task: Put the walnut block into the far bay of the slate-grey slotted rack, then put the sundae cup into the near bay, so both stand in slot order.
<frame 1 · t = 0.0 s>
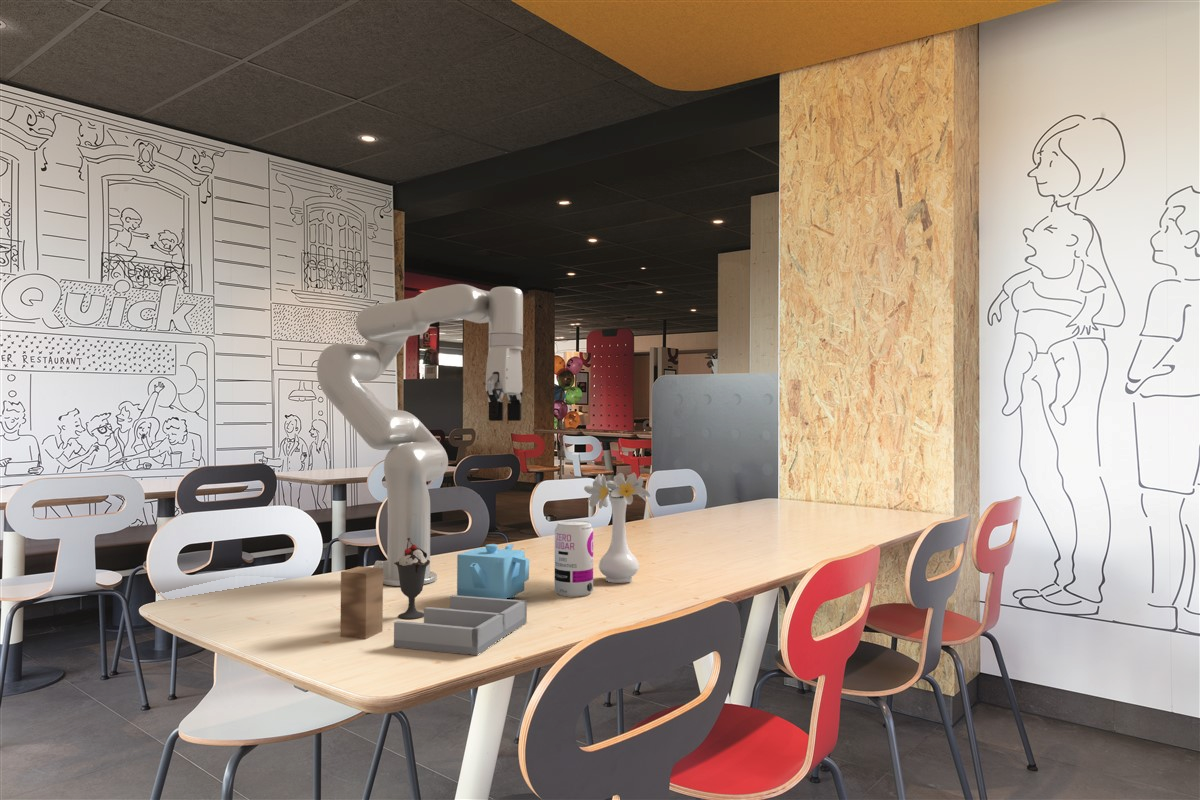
hand: (505, 420, 168), 37 cm above the table, tool pointing down, fingers open, 9 cm apart
rack: (463, 634, 131), on the table
supplement can: (573, 594, 162), on the table
sundae: (411, 617, 143), on the table
flower vase: (615, 581, 175), on the table
walnut block: (361, 633, 131), on the table
teapot: (493, 600, 157), on the table
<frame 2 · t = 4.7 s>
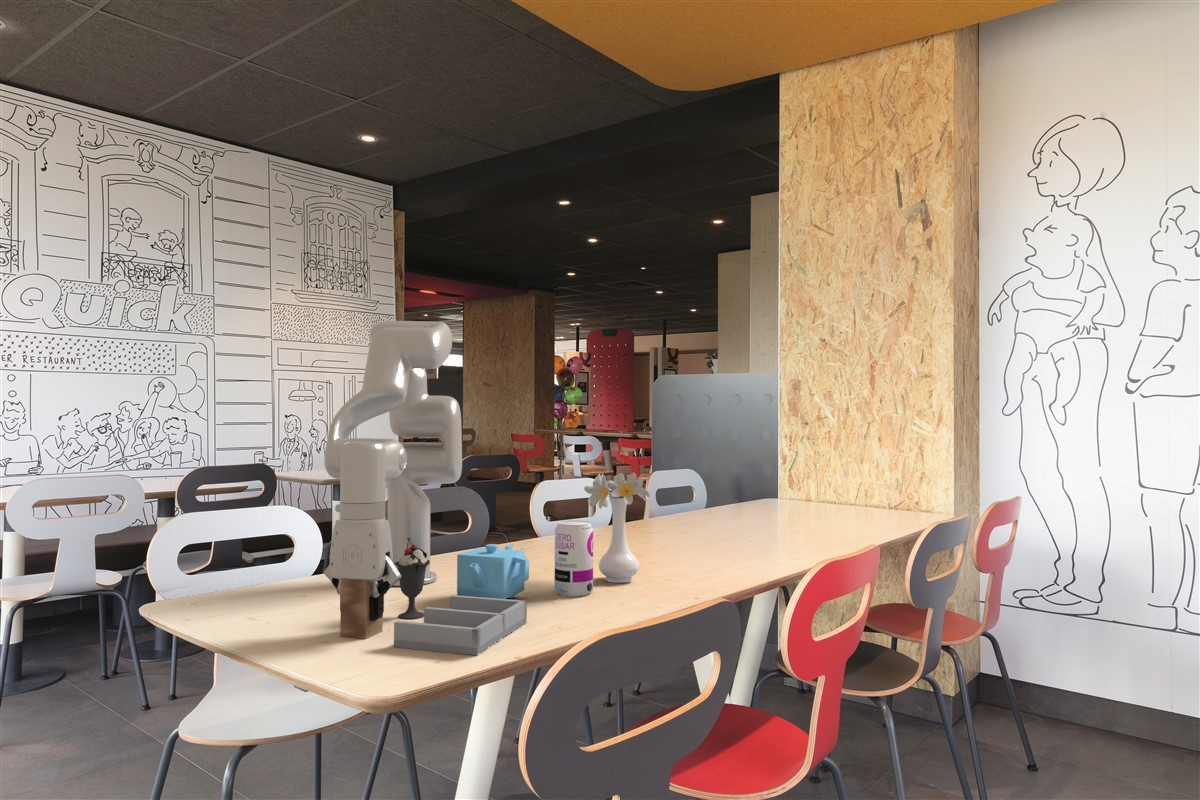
hand: (361, 616, 131), 3 cm above the table, tool pointing down, fingers closed on walnut block, 5 cm apart
walnut block: (361, 633, 131), on the table, touching gripper
everything else where it was.
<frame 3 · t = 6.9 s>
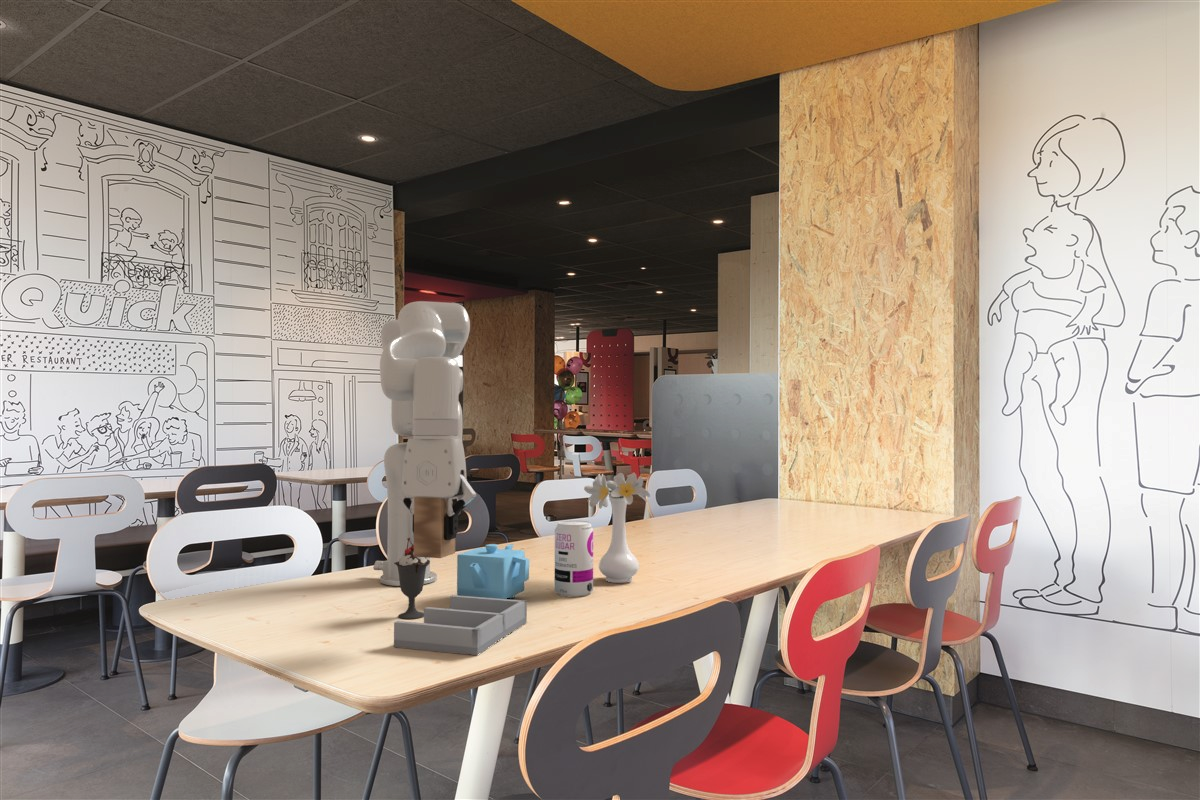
hand: (435, 537, 128), 17 cm above the table, tool pointing down, fingers closed on walnut block, 5 cm apart
walnut block: (434, 554, 128), point 14 cm above the table, touching gripper
everything else where it was.
when the fingers open (6 cm above the table, at t = 9.4 s): walnut block drops 1 cm, resting on rack.
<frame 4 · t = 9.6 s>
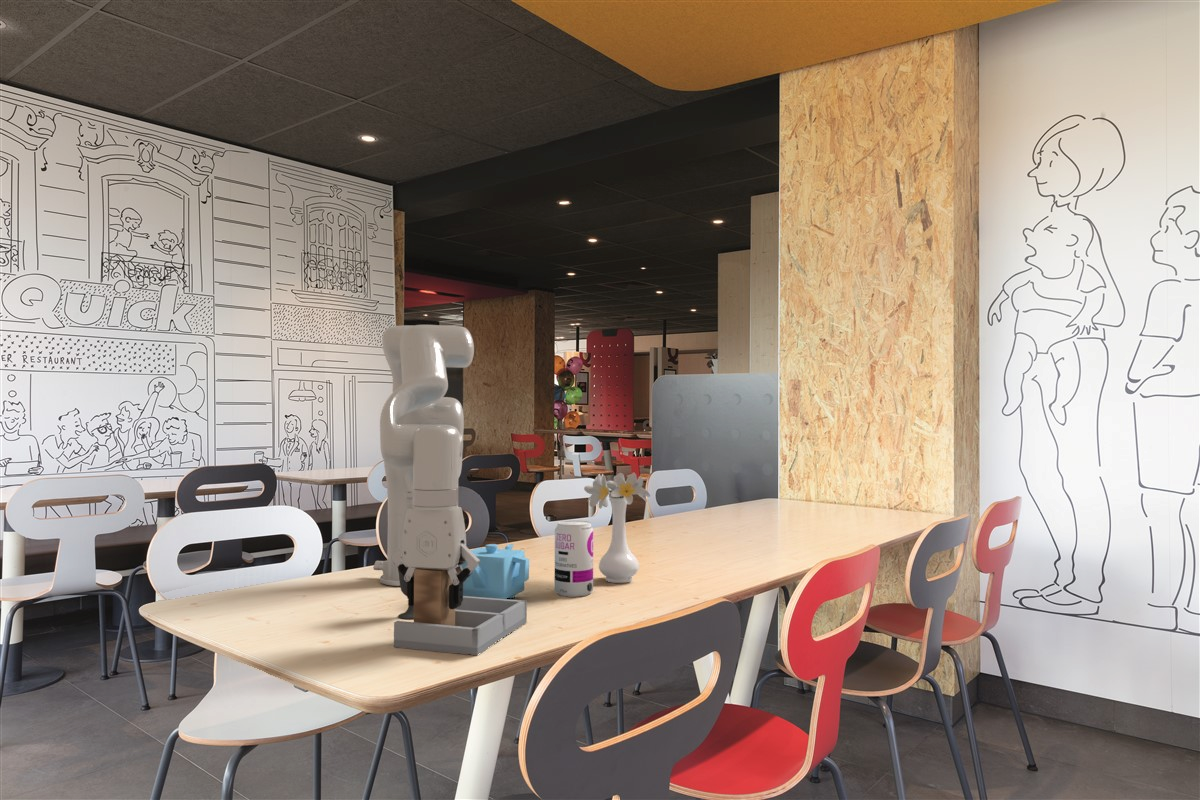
hand: (434, 604, 128), 6 cm above the table, tool pointing down, fingers open, 7 cm apart
walnut block: (434, 633, 128), point 1 cm above the table, touching rack
everything else where it was.
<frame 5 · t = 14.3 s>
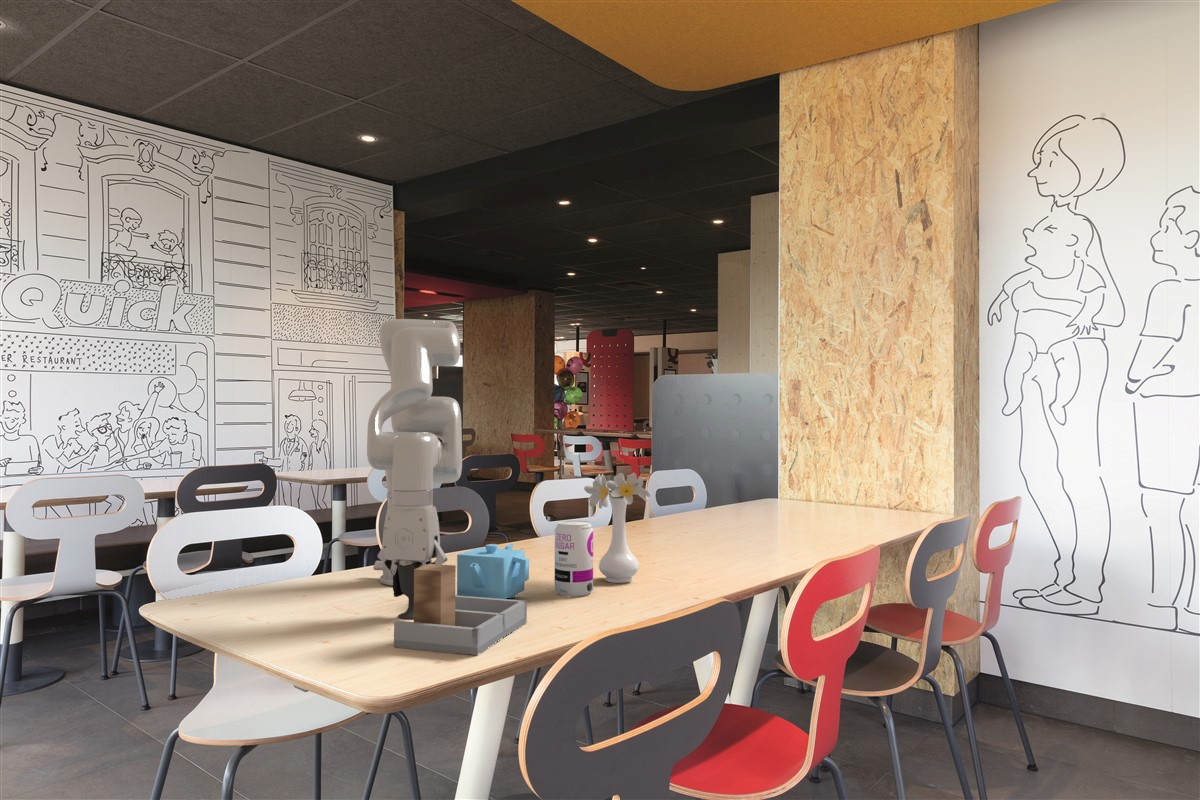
hand: (411, 595, 143), 4 cm above the table, tool pointing down, fingers closed on sundae, 4 cm apart
sundae: (411, 617, 143), on the table, touching gripper
everything else where it was.
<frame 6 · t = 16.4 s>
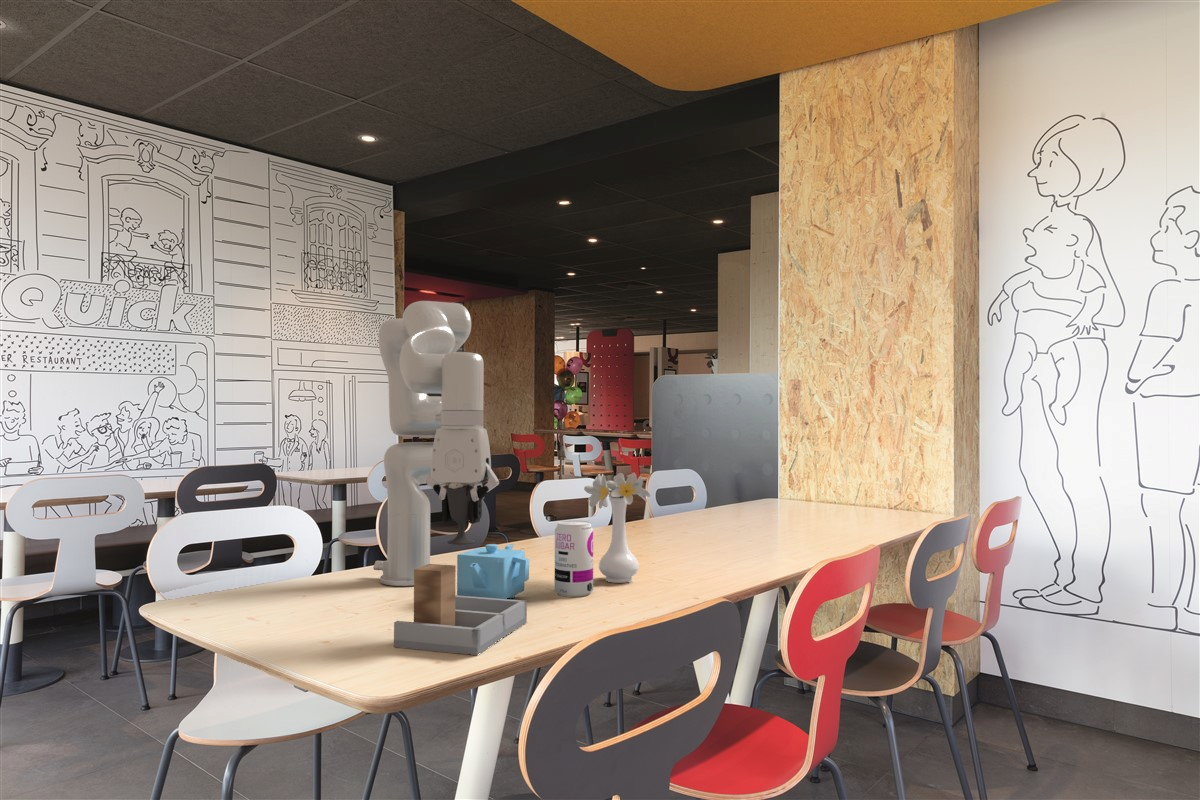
hand: (461, 521, 137), 19 cm above the table, tool pointing down, fingers closed on sundae, 4 cm apart
sundae: (461, 543, 137), point 15 cm above the table, touching gripper
everything else where it was.
when the fingers open (6 cm above the table, at t = 18.9 s): sundae drops 1 cm, resting on rack.
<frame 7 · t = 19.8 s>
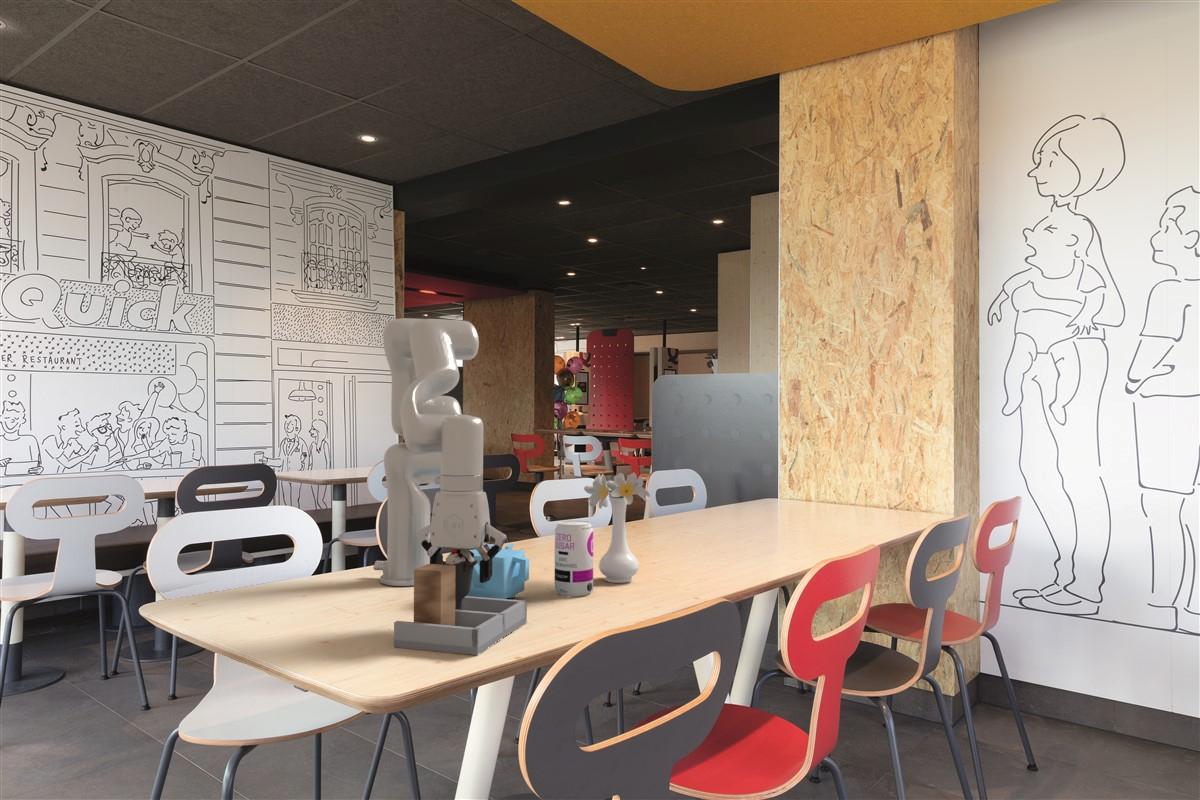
hand: (460, 579, 137), 8 cm above the table, tool pointing down, fingers open, 9 cm apart
sundae: (458, 620, 136), point 1 cm above the table, touching rack
everything else where it was.
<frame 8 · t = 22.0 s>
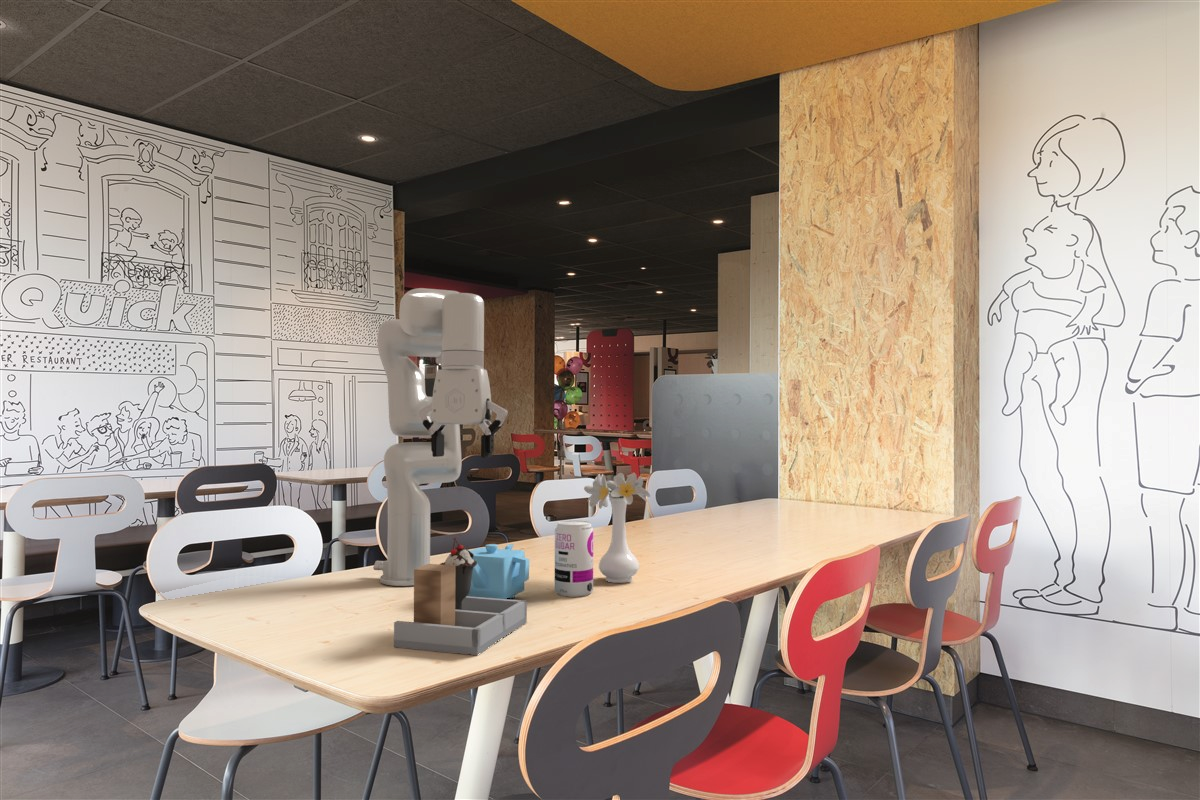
hand: (462, 456, 137), 30 cm above the table, tool pointing down, fingers open, 9 cm apart
nothing on the table moved.
at the end: walnut block inside the target area on the rack (1.3 cm from its centre), point 1.2 cm above the rack's base; sundae inside the target area on the rack (1.5 cm from its centre), point 1.1 cm above the rack's base; sundae tilted 2° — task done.
